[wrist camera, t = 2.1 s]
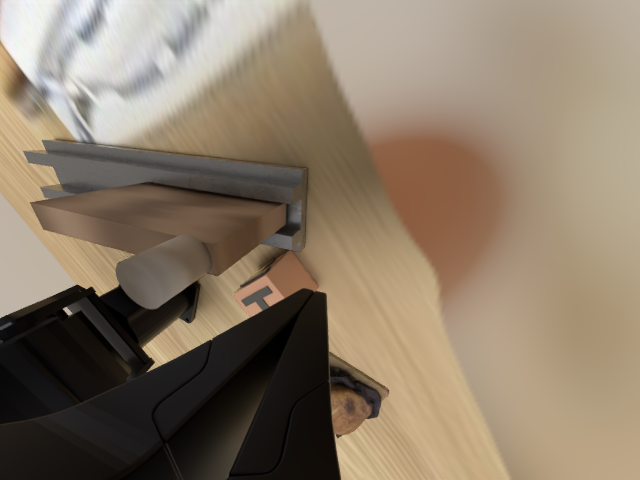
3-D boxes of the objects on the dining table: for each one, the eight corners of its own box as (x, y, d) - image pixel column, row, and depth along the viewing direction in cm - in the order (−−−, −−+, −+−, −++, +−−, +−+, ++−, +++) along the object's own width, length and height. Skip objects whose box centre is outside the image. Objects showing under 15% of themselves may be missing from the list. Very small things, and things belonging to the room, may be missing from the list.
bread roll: (324, 340, 22) (311, 374, 19) (398, 389, 22) (398, 432, 19) (286, 387, 28) (271, 420, 24) (345, 427, 27) (337, 466, 24)
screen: (285, 199, 15) (157, 269, 7) (286, 226, 16) (171, 316, 8) (150, 178, 18) (-48, 211, 10) (157, 202, 19) (-22, 250, 11)
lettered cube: (318, 286, 19) (300, 320, 16) (286, 301, 21) (263, 335, 18) (289, 248, 19) (263, 273, 15) (259, 267, 20) (229, 294, 17)
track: (307, 168, 15) (292, 173, 13) (304, 246, 18) (291, 261, 16) (55, 139, 22) (17, 139, 20) (80, 200, 24) (49, 206, 22)
